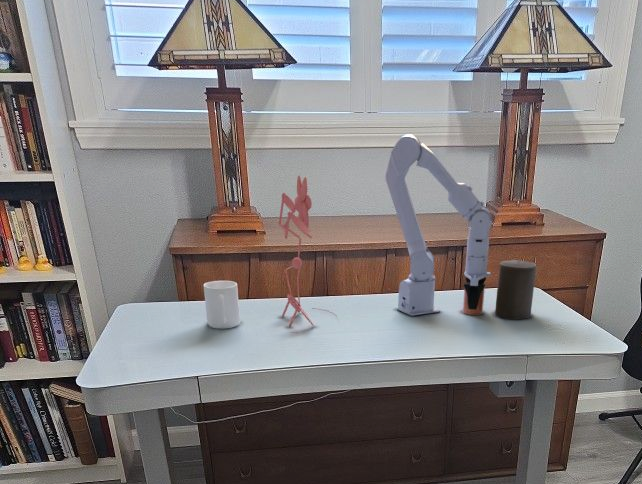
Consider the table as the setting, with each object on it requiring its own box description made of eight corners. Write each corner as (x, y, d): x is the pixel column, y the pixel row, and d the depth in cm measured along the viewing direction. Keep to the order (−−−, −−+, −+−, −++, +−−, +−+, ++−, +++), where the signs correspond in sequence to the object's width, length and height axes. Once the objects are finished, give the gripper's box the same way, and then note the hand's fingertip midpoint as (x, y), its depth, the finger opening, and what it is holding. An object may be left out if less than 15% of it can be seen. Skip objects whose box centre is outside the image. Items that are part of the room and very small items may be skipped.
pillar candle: (502, 320, 187) (508, 263, 180) (490, 310, 195) (495, 255, 188) (536, 318, 189) (543, 262, 182) (522, 309, 197) (529, 254, 190)
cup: (240, 318, 184) (236, 279, 180) (241, 332, 174) (237, 291, 169) (207, 320, 183) (203, 281, 178) (207, 334, 173) (202, 292, 168)
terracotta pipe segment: (470, 316, 190) (472, 292, 187) (458, 311, 194) (460, 287, 191) (486, 313, 193) (488, 289, 190) (474, 308, 197) (476, 285, 194)
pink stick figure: (292, 337, 172) (285, 183, 155) (272, 309, 193) (264, 171, 176) (352, 332, 176) (352, 182, 159) (326, 305, 197) (323, 170, 180)
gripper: (491, 261, 179) (486, 314, 186) (492, 250, 192) (488, 300, 198) (463, 260, 180) (460, 312, 187) (467, 249, 193) (463, 298, 199)
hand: (473, 306), depth 193 cm, fingers closed on terracotta pipe segment, 5 cm apart
